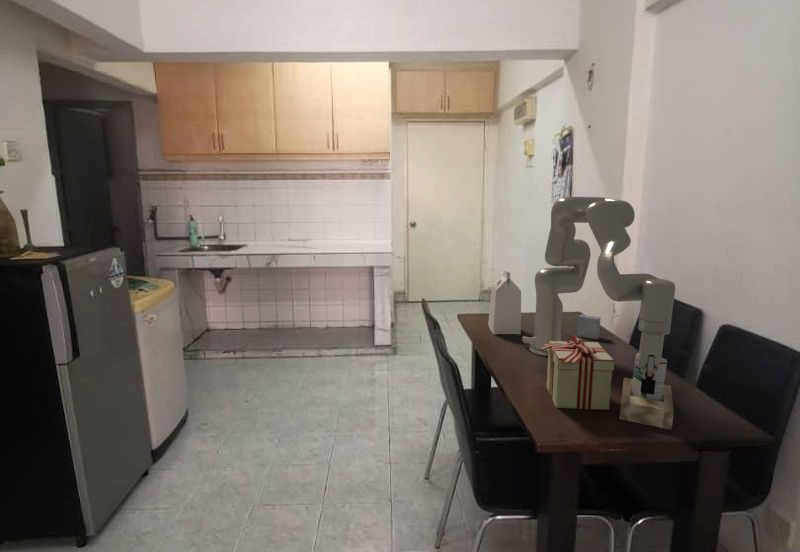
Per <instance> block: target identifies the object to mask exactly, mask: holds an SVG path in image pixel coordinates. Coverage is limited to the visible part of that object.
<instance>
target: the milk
mask: <svg viewBox="0 0 800 552" xmlns="http://www.w3.org/2000/svg"><path fill="white" fill-rule="evenodd" d="M487 325H488V326H489V327H488V326H487V327H488V328H489V330H490V332H491V331H492V332H491V333H492V335H497V334H522V333H521V332H522V291H521V289H520V288H519V286H518V285H517V284H516V283H515V282H514V281H513V280H512V279H511V271H510V270H509V269H503V273H502V276H501V277H499V278H498V279H497V280H496V281H495V282H493V284H492V285H491V289H490V301H489V310H488V323H487Z"/></svg>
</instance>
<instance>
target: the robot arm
mask: <svg viewBox="0 0 800 552" xmlns="http://www.w3.org/2000/svg"><path fill="white" fill-rule="evenodd" d="M635 217H636V216H635V210H634V207H633V206H632V205H631V204H630V202H628V201H625V200H623V199H622V200H621V199H613V198H609V197H603V196H566V197H560V198H559V199H557V200H556V201H554V203H553V205H552V207H551V213H550V230H549V233H548V237H547V242H546V245H545V252H544V261H545V262H546V264H548V265H549V266H551V267H545V268H541V269H539V270H538V271H537V272H536V273H535V275H534V283H535V284H534V285H535V286H534V287H535V295H536V297H535V317H534V332H533V334H534V335H533V336H531V337H529V336H524V335H523V336H522V339H521V341H522V342H523V343H524V344H529V346H528V350H529V351H530V352H531V353H533V354H535V355H538V356H544V357H548V351H547V349H544V350H539V349H541V348H542V347H543V346H544V345H545V344H546V343H548V341H562V340H561V338H562V337H561V336H562V327H563V325H562V324H563V313H564V312H563V311H564V307H563V306H564V305H563V302H562V300H561V298H560V296H559V294H569V293H572V294H573V293H577V292H579V291H580V290H581V289H582V288H583V285H584V282H585V279H586V275H587V271H588V270H589V269H588V268H589V264H590V261H591V260H590V259H591V255H592V254H591V248H590V246H589V243H588V242H586V241H585V240H584V239H577V238H576V239H575V237H576V233H577V232H576V231H577V228H576V225H575V223H583V224H587V223H588V226H589V228H590V230H591V232H592V234H593V237H594V239H595V240H596V242H597V244H598V247H599V248H600V253H599V256H598V259H597V265H596V269H597V270H596V273H597V277H598V280H599V282H600V284H601V287H602V289H603V291H604V292H605V294H606V296H607V297H609V299H611V300H612V301H615V302H624V303H625V302H635V301H636V302H640V305H639V306H640V308H639V317H638V325H637V330H639V331H640V332H641V334H640V341H639V351H638V353H639V359H638V367H639V368H641V367H642V368H643V367H644V373H643V378H642V382H641V392H642V393H647V394H652V395H653V394H654V390H655V382H656V380H655V373H656V371H657V370H659V366H660V361H661V357H662V354H663V350H664V348H663V347H664V342H665V341H664V340H665V336H666V335H667V336H668V335H669V334H670V333H671V327H672V318H673V311H674V304H675V302H674V301H675V293H676V284H675V282H673V281H672V280H668V279H663V278H658V277H656V276H655V275H652V274H650V273H623V274H621V273H620V271H619V270H618V268H617V267H618V266H616V263H615V256H617V255H618V254H621V253H622V252H624V251H625V250H626V249H628V248H629V247H630V245H631V241H632V240H631V236H630V235H629V233H628V231H627V229H626V228H629V227H630V226H631V225H632V224H633V223H634V221H635ZM648 355H649V359H648ZM647 362H648V367H646V363H647ZM654 364H655V365H654ZM656 366H657V367H656ZM653 367H654V368H653ZM646 370H648V371H646Z"/></svg>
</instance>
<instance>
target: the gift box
mask: <svg viewBox="0 0 800 552" xmlns="http://www.w3.org/2000/svg"><path fill="white" fill-rule="evenodd" d="M569 338H570V339H573V340H569V341H568V340H567V341H566V340H565V341H563V340H560V341H548V343H546V344H545V345H544V346H543V347H542V348H541V349H539V350H544V349H547V351H548V356H547V370H546V372H547V373H546V385H545V386H546V388H547V392H548V395H549V396H550V398H551V401H552V402H553V405H554V406H555V408H556V409H572V410H573V409H575V410H576V409H577V410H596V411H597V410H598V411H599V410H600V411H610V402H611V390H612V389H611V388H612V379H613V378H612V377H613V372H614V369H615V360H614V359H613V357H611V355H610V354H609V353H608V352H607V351H606V349H604V347H602V345H600V343H599V342H597V341H596V342H595V341H584V340H583V339H581V338H580V337H577V336H574V335H570V336H569Z"/></svg>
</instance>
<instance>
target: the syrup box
mask: <svg viewBox="0 0 800 552" xmlns="http://www.w3.org/2000/svg"><path fill="white" fill-rule="evenodd" d="M634 359H635V360H634V366H633V367H634V368H633V374H632V379H633V382H632V390H631V396H635V397H640V398H645V399H651V400H656V401H661V402H662V395H663V388H664V384H665V379H666V374H667V371H666V370H667V367H668V366H667V364H668V360H667V359H666V358H663V356H661V361H660V366H659V370H657V371H656V373H655V380H656V382H655V390H654V394H653V395H652V394H647V393H642V392H641V382H642V378H643V373H644V367H643V368H642V367H641V368H639V367H638V359H639V352H636V353H635V358H634ZM648 359H649V355H648ZM654 365H655V364H654ZM646 367H648V362H647V363H646ZM656 367H657V366H656ZM653 368H654V367H653ZM646 371H648V370H646Z"/></svg>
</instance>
